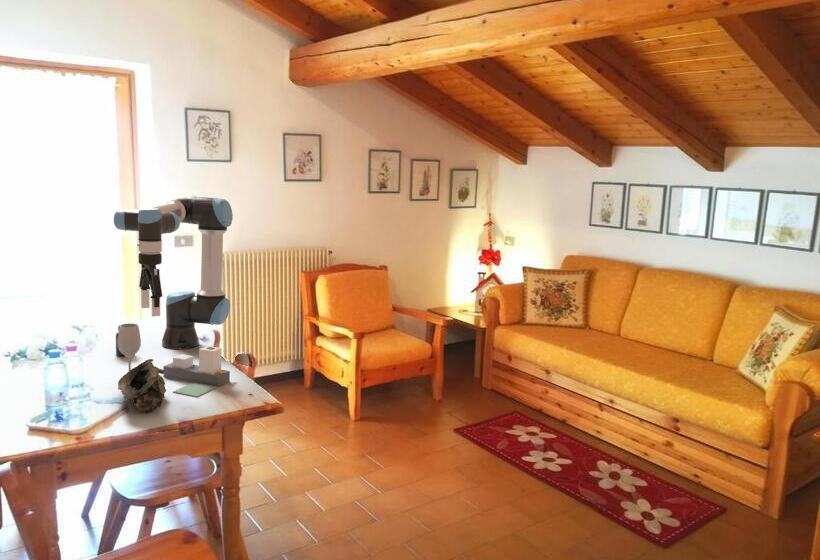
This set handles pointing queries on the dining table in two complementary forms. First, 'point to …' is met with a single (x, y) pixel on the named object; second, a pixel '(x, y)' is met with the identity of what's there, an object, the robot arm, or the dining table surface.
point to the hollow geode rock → (143, 387)
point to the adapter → (183, 361)
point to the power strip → (196, 375)
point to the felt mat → (194, 389)
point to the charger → (210, 360)
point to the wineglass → (129, 340)
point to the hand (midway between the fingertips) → (150, 311)
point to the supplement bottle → (117, 346)
